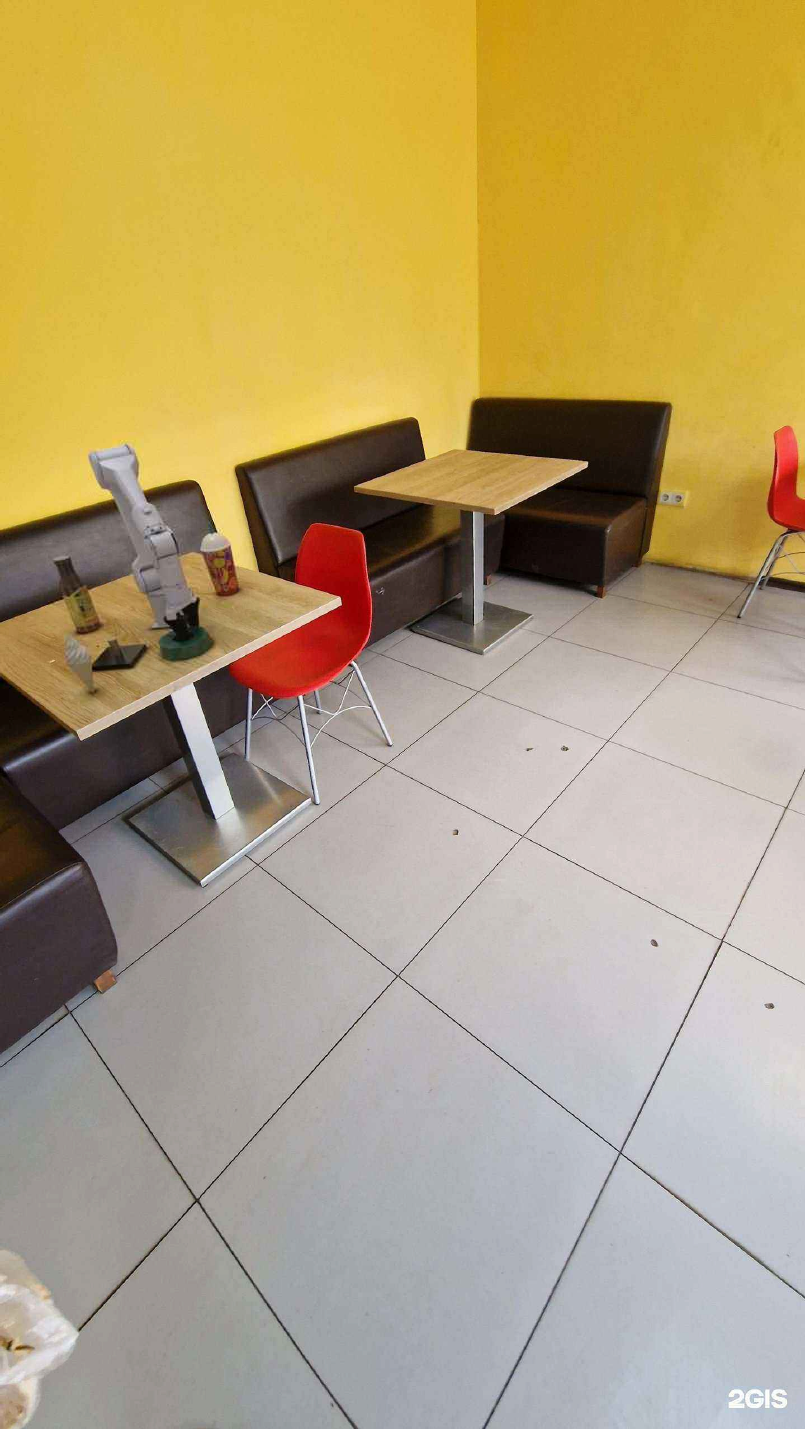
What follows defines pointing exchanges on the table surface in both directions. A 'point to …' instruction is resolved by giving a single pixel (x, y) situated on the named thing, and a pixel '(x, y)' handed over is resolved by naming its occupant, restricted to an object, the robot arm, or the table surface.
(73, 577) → the sauce bottle
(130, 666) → the peg stand
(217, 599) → the table surface
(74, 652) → the ice cream cone
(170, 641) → the ring
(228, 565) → the smoothie
